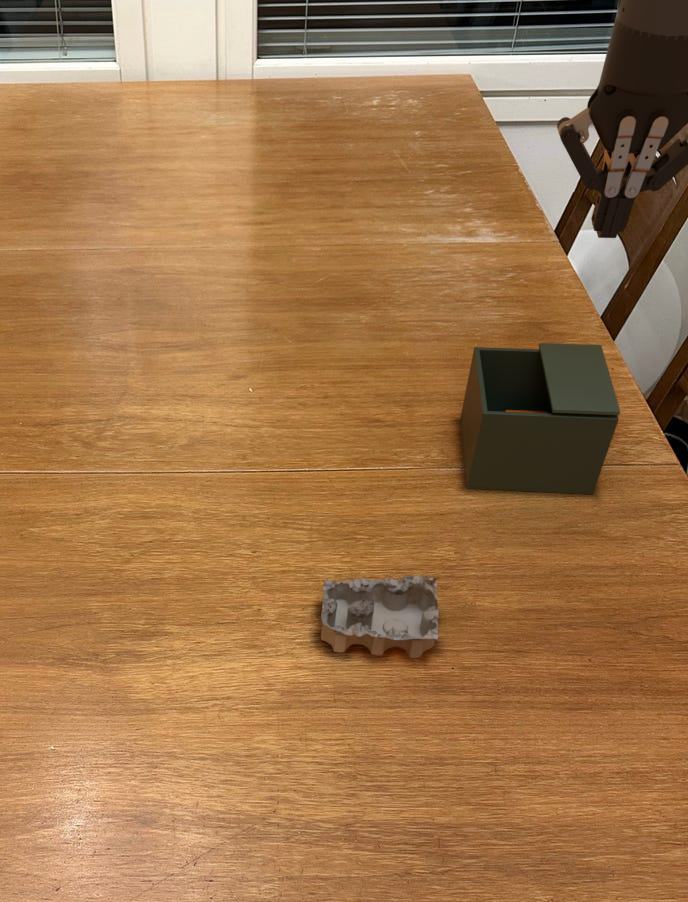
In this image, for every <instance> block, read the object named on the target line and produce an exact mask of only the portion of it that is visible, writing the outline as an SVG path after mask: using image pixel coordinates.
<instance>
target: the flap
mask: <svg viewBox="0 0 688 902" xmlns="http://www.w3.org/2000/svg"><path fill="white" fill-rule="evenodd" d="M538 349H539V350H540V355H541V360H542V365H543V370H544V375H545V379H546V384H547V389H548V394H549V399H550V403H551V408H552V413H574V414H601V415H618V416H620V415H621V408H620V406H619V403H618V398H617V396H616V392H615V389H614V385H613V381H612V377H611V374H610V371H609V367H608V363H607V360H606V358H605V353H604V350H603V347H602V344H583V343H581V344H580V343H555V342H554V343H552V342H551V343H550V342H549V343H548V342H539V343H538Z"/></svg>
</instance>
